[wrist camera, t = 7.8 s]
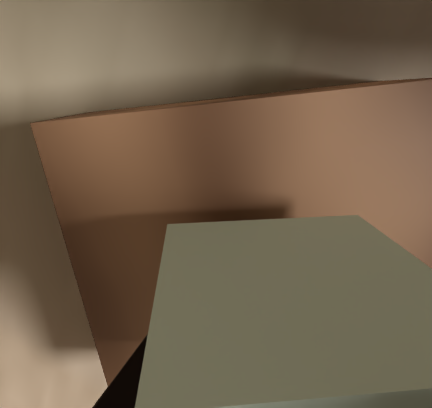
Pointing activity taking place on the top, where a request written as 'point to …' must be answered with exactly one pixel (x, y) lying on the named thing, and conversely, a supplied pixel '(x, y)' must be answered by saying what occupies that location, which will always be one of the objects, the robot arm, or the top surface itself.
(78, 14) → the top surface
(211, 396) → the sage green block
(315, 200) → the walnut block
